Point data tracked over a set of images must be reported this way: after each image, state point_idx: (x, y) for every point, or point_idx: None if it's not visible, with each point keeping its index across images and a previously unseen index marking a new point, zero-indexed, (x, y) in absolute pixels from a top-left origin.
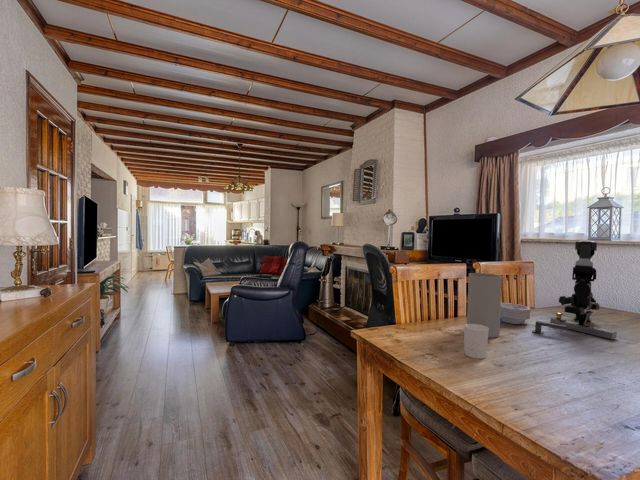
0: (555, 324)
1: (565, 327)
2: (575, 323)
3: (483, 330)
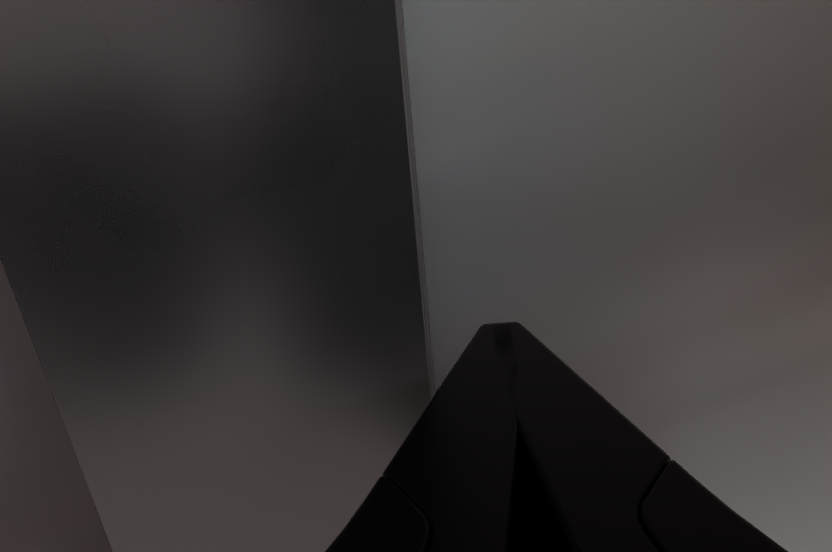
0: None
1: None
2: (254, 349)
3: None
